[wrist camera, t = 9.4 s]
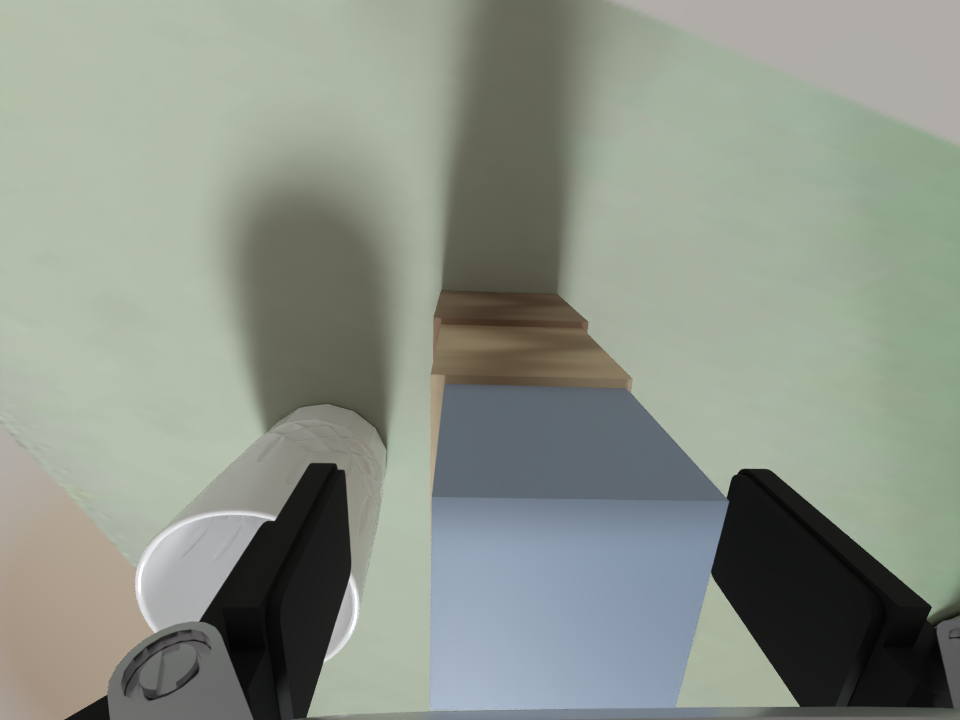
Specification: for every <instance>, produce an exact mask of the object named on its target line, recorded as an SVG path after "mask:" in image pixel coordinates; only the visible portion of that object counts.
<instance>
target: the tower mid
mask: <svg viewBox="0 0 960 720" xmlns="http://www.w3.org/2000/svg"><path fill="white" fill-rule="evenodd" d="M632 381H633V379H632V378H631V377H630V376H629V375H628V374H627V373H626V372H625V371H624V370H623V369H622V368H621V367H620V366H619V365H618V364H617V363H616V362H615V361H614V360H613V359H612V358H611V357H610V356H609V355H608V354H607V353H606V352H605V351H604V350H603V349H602V348H601V347H600V346H599V345H598V344H597V343H596V342H595V341H594V340H593V339H592V338H591V337H590V336H589V335H588V334H587V333H586V332H585V331H584V330H583V329H582V328H554V327H517V326H481V325H445V324H441V327H440V331H439V336H438V341H437V346H436V351H435V356H434V361H433V366H432V371H431V519H432V490H433V481H434V472H435V463H436V454H437V445H438V436H439V427H440V418H441V410H442V401H443V392H444V384H478V385H515V386H553V387H591V388H627V390H628V391H629V392H630V393H631V387H632Z"/></svg>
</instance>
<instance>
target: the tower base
mask: <svg viewBox="0 0 960 720" xmlns="http://www.w3.org/2000/svg"><path fill="white" fill-rule="evenodd" d="M441 324H445V325H481V326H517V327H554V328H582V329H583V330H584V331H585V332H586V333H587V329H588V321H587V320H586V319H584V318H583V317H582V316H581V315H580V314H579V313H578V312H577V311H576V310H574V309H573V308H572V307H571V306H570V305H569V304H568V303H567V302H566V301H564V300H563V299H562V298H561V297H560V296H559V295H558V294H532V293H500V292H469V291H441V293H440V297H439V300H438V304H437V307H436V311H435V314H434V342H433V361H434V356H435V351H436V346H437V341H438V336H439V331H440V327H441Z"/></svg>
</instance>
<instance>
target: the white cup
mask: <svg viewBox="0 0 960 720" xmlns="http://www.w3.org/2000/svg"><path fill="white" fill-rule="evenodd" d="M386 452H387V451H386V448H385V446H384V444H383V442H382V440H381V438H380V436H379V434H378V432H377V430H376V428H375V427H373V426H372V425H371V424H370V423H368V422H367V421H366V420H365V419H363V418H362V417H361V416H360V415H358V414H357V413H356V412H355V411H351V410H348V409H344V408H341V407H337V406H333V405H330V404H322V405H314V406H306V407H300V408H298V409H297V410H295V411H294V412H292V413H291V414H289V415H287V416H286V417H284V418H283V419H281V420H280V421H278V422H277V423H276V424H275V425H274V426H273V427H272V428H271V429H270V430H269V431H268V432H267V433H266V434H264V435H263V436H261V437H260V438H259V439H258V440H257V441H255V442H254V443H253V444H252V445H251V446H250V447H249V448H248V449H247V450H246V451H245V452H244V453H243V454H241V455H240V456H239V457H238V458H237V459H236V460H235V461H234V462H232V463H231V464H230V465H229V466H228V467H227V468H226V469H225V470H224V471H223V472H222V473H220V474H219V475H218V476H217V477H216V478H215V479H214V480H213V481H212V482H211V483H210V484H209V485H208V486H207V487H206V488H205V489H204V490H203V491H202V492H201V493H200V494H199V495H198V496H197V497H196V498H195V499H194V500H193V501H192V502H191V503H190V504H189V505H187V506H186V507H185V508H184V509H183V510H182V511H181V512H180V513H179V514H178V515H177V516H176V517H175V518H174V519H173V520H172V521H171V522H170V523H169V524H168V525H167V526H166V527H165V528H163V529H162V530H161V531H160V532H159V533H158V534H157V535H156V536H155V537H154V538H153V539H152V540H151V542H150V543H149V544H148V545H147V547H146V548H145V550H144V551H143V553H142V555H141V557H140V560H139V562H138V565H137V569H136V574H135V592H136V598H137V602H138V605H139V608H140V610H141V613H142V615H143V617H144V618H145V620H146V622H147V623H148V625H149V626H150V628H151V629H152V630H153V632H154V633H156V632H158V631H160V630H162V629H165V628H168V627H170V626H173V625H175V624H180V623H185V622H191V621H194V622H199V620H200V619H201V617H202V616H203V614H204V613H205V611H206V610H207V608H208V606H209V605H210V603H211V602H212V600H213V599H214V597H215V596H216V594H217V592H218V591H219V589H220V588H221V586H222V585H223V583H224V582H225V580H226V579H227V577H228V575H229V574H230V572H231V571H232V569H233V568H234V566H235V565H236V563H237V561H238V560H239V558H240V557H241V555H242V554H243V552H244V551H245V549H246V548H247V546H248V544H249V543H250V541H251V540H252V538H253V537H254V535H255V534H256V532H257V530H258V529H259V527H260V526H261V525H262V524H263V523H264V522H266V521H275V520H276V518H277V516H278V515H279V513H280V511H281V510H282V508H283V506H284V505H285V503H286V501H287V500H288V498H289V497H290V495H291V493H292V492H293V490H294V488H295V487H296V485H297V483H298V482H299V480H300V479H301V477H302V475H303V474H304V472H305V470H306V469H307V467H308V465H309V464H310V463H335V464H336V465H337V467H338V469H340V470H345V474H346V488H347V502H348V517H349V532H350V546H351V573H350V578H349V582H348V585H347V588H346V591H345V594H344V598H343V601H342V604H341V607H340V611H339V614H338V617H337V620H336V623H335V627H334V630H333V633H332V636H331V639H330V643H329V646H328V649H327V652H326V656H325V659H324V662H326V661H327V660H329V659H330V658H331V657H333V656H334V655H335V654H336V653H337V652H339V651H340V650H341V649H342V647H343V646H344V645H345V644H346V643H347V641H348V640H349V638H350V637H351V635H352V633H353V631H354V629H355V627H356V624H357V621H358V617H359V612H360V607H361V602H362V597H363V592H364V587H365V582H366V577H367V573H368V568H369V563H370V558H371V554H372V549H373V544H374V540H375V535H376V530H377V525H378V519H379V512H380V506H381V501H382V495H383V484H384V479H385V475H386ZM324 662H323V663H324Z"/></svg>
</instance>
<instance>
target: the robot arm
mask: <svg viewBox="0 0 960 720" xmlns="http://www.w3.org/2000/svg"><path fill="white" fill-rule="evenodd" d="M727 499H728V500H729V504H728V508H727V512H726V516H725V519H724V523H723V527H722V531H721V535H720V539H719V542H718V546H717V550H716V554H715V558H714V562H713V565H712V569H711V573H712V576H713V578H714V580H715V582H716V583H717V585H718V586H719V587H720V589H721V590H722V592H723V593H724V595H725V596H726V598H727V599H728V601H729V602H730V604H731V605H732V607H733V608H734V610H735V611H736V613H737V614H738V615H739V617H740V618H741V620H742V621H743V623H744V624H745V626H746V627H747V629H748V630H749V632H750V633H751V635H752V636H753V638H754V639H755V641H756V642H757V643H758V645H759V646H760V648H761V649H762V651H763V652H764V654H765V655H766V657H767V658H768V660H769V661H770V663H771V664H772V666H773V667H774V669H775V670H776V671H777V673H778V674H779V676H780V677H781V679H782V680H783V682H784V683H785V685H786V686H787V688H788V689H789V691H790V692H791V694H792V695H793V697H794V698H795V700H796V701H797V702H798V704H799V705H800V707H705V708H613V709H542V710H484V711H431V712H403V713H376V714H348V715H334V716H323V717H311V718H306V717H307V713H308V710H309V707H310V704H311V701H312V697H313V694H314V691H315V688H316V685H317V681H318V678H319V675H320V672H321V668H322V665H323V662H324V659H325V656H326V652H327V649H328V646H329V643H330V639H331V636H332V633H333V630H334V627H335V623H336V620H337V617H338V614H339V611H340V607H341V604H342V601H343V598H344V594H345V591H346V588H347V585H348V582H349V578H350V573H351V546H350V532H349V517H348V502H347V488H346V474H345V470H340V469H338V467H337V465H336V464H335V463H310V464H309V465H308V467H307V469H306V470H305V472H304V474H303V475H302V477H301V479H300V480H299V482H298V483H297V485H296V487H295V488H294V490H293V492H292V493H291V495H290V497H289V498H288V500H287V501H286V503H285V505H284V506H283V508H282V510H281V511H280V513H279V515H278V516H277V518H276V520H275V521H266V522H264V523H263V524H262V525H261V526H260V527H259V529H258V530H257V532H256V534H255V535H254V537H253V538H252V540H251V541H250V543H249V544H248V546H247V548H246V549H245V551H244V552H243V554H242V555H241V557H240V558H239V560H238V561H237V563H236V565H235V566H234V568H233V569H232V571H231V572H230V574H229V575H228V577H227V579H226V580H225V582H224V583H223V585H222V586H221V588H220V589H219V591H218V592H217V594H216V596H215V597H214V599H213V600H212V602H211V603H210V605H209V606H208V608H207V610H206V611H205V613H204V614H203V616H202V617H201V619H200V620H199V622H194V621H191V622H185V623H180V624H175V625H173V626H170V627H168V628H165V629H162V630H160V631H158V632H156V633H155V634H153V635H151V636H150V637H148V638H146V639H145V640H143V641H142V642H141V643H139V644H138V645H137V646H136V647H134V648H133V649H132V650H131V651H130V652H129V653H128V654H127V655H126V656H125V657H124V658H123V659H122V661H121V662H120V663H119V664H118V665H117V667H116V669H115V671H114V672H113V675H112V676H111V678H110V680H109V686H108V694H107V695H106V696H104V697H103V698H101V699H99V700H98V701H96V702H94V703H93V704H91V705H89V706H87V707H86V708H84V709H82V710H80V711H79V712H77V713H75V714H74V715H72V716H70V717H68V718H67V719H65V720H960V615H959V616H957V617H955V618H952V619H950V620H947V621H942V622H941V623H940V624H938V625H937V626H935V627H934V626H932V625H931V624H930V623H929V622H928V621H927V620H926V619H927V617H928V614H929V612H930V610H931V608H932V607H931V606H930V605H929V604H928V603H927V602H926V601H924V600H923V599H922V598H921V597H920V596H918V595H917V594H916V593H915V592H914V591H913V590H911V589H910V588H909V587H908V586H907V585H905V584H904V583H903V582H902V581H901V580H900V579H898V578H897V577H896V576H895V575H894V574H892V573H891V572H890V571H889V570H888V569H887V568H885V567H884V566H883V565H882V564H881V563H879V562H878V561H877V560H876V559H875V558H874V557H872V556H871V555H870V554H869V553H868V552H866V551H865V550H864V549H863V548H862V547H861V546H859V545H858V544H857V543H856V542H855V541H854V540H852V539H851V538H850V537H849V536H848V535H846V534H845V533H844V532H843V531H842V530H841V529H839V528H838V527H837V526H836V525H835V524H833V523H832V522H831V521H830V520H829V519H828V518H826V517H825V516H824V515H823V514H822V513H820V512H819V511H818V510H817V509H816V508H815V507H813V506H812V505H811V504H810V503H809V502H807V501H806V500H805V499H804V498H803V497H802V496H800V495H799V494H798V493H797V492H796V491H794V490H793V489H792V488H791V487H790V486H789V485H787V484H786V483H785V482H784V481H783V480H781V479H780V478H779V477H778V476H777V475H776V474H774V473H773V472H772V471H770V470H768V469H742V470H740V471H739V472H738V474H737V475H734V476H733V477H732V480H731V483H730V487H729V491H728V495H727Z"/></svg>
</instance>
